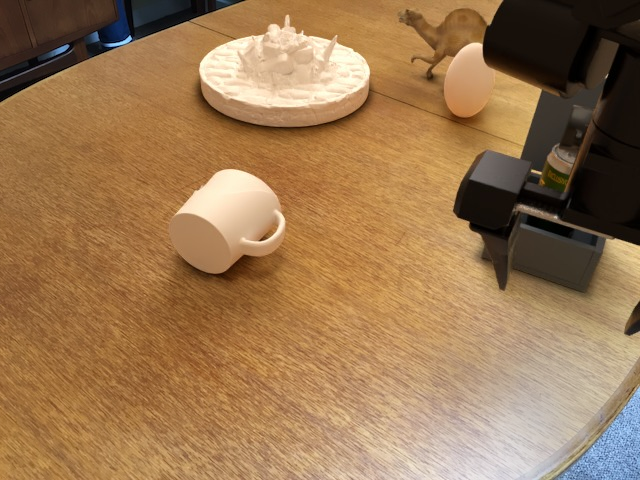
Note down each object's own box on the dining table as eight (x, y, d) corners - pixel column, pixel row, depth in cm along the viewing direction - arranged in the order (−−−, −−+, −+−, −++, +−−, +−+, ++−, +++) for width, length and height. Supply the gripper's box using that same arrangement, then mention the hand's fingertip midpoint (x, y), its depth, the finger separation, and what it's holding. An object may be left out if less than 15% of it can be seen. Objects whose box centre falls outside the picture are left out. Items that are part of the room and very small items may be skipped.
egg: (433, 120, 93) (446, 47, 86) (444, 100, 99) (458, 30, 91) (480, 131, 91) (498, 57, 84) (489, 110, 97) (507, 39, 89)
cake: (182, 120, 90) (174, 60, 84) (220, 47, 112) (216, -6, 105) (366, 134, 89) (372, 74, 83) (369, 57, 111) (374, 5, 104)
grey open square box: (584, 292, 65) (602, 253, 62) (480, 257, 69) (492, 218, 65) (599, 234, 73) (616, 196, 69) (506, 205, 77) (517, 167, 73)
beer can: (571, 235, 72) (606, 149, 64) (563, 262, 68) (599, 174, 60) (526, 221, 73) (554, 136, 66) (516, 246, 70) (545, 159, 62)
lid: (661, 91, 63) (661, 89, 63) (549, 66, 66) (550, 64, 67) (617, 194, 69) (617, 192, 69) (517, 165, 73) (518, 163, 73)
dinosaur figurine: (391, 66, 108) (401, -10, 100) (541, 89, 103) (565, 11, 95) (383, 84, 102) (392, 5, 94) (541, 109, 97) (566, 28, 89)
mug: (167, 258, 67) (156, 201, 62) (213, 213, 74) (207, 158, 68) (260, 293, 63) (257, 236, 58) (300, 242, 70) (301, 187, 65)
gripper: (812, 110, 38) (700, 286, 48) (517, 46, 44) (474, 213, 54) (834, 202, 30) (696, 388, 40) (474, 108, 36) (433, 290, 46)
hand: (563, 308), depth 45 cm, fingers open, 9 cm apart
